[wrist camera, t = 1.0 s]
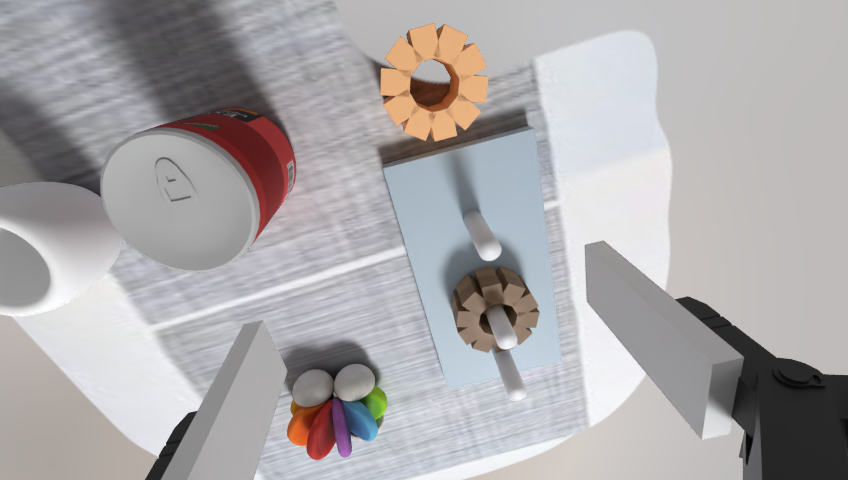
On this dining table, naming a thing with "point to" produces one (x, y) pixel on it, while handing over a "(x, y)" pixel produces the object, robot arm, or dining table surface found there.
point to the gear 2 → (488, 292)
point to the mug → (51, 245)
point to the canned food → (198, 187)
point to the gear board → (455, 251)
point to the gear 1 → (463, 82)
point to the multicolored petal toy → (335, 410)
